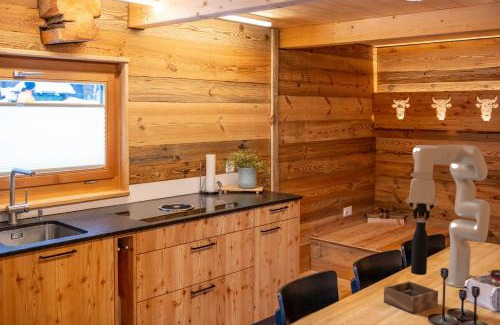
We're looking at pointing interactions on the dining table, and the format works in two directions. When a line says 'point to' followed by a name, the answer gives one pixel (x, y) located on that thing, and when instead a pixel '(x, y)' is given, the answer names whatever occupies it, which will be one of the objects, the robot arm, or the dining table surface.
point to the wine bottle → (420, 243)
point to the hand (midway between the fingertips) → (421, 218)
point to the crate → (410, 297)
